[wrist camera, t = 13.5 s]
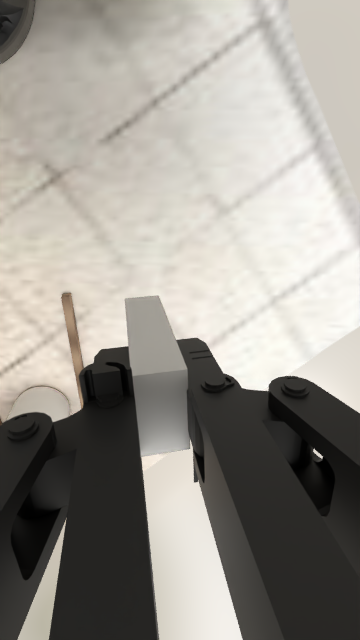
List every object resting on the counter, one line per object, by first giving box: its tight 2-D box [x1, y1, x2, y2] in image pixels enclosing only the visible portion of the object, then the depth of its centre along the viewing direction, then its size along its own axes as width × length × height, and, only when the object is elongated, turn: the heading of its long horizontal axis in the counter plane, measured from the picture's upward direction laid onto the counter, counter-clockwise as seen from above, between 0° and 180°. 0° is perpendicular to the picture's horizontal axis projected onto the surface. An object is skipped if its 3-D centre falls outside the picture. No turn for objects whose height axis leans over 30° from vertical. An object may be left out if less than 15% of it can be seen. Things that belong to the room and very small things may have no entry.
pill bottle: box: [6, 387, 70, 422], centre depth 43 cm, size 8×8×15 cm
